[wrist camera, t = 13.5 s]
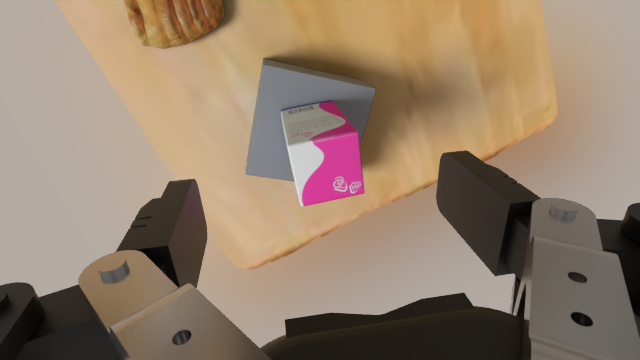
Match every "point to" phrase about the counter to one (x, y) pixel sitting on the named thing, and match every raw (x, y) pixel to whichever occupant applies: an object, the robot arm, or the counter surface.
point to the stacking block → (291, 91)
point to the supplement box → (322, 152)
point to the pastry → (172, 20)
